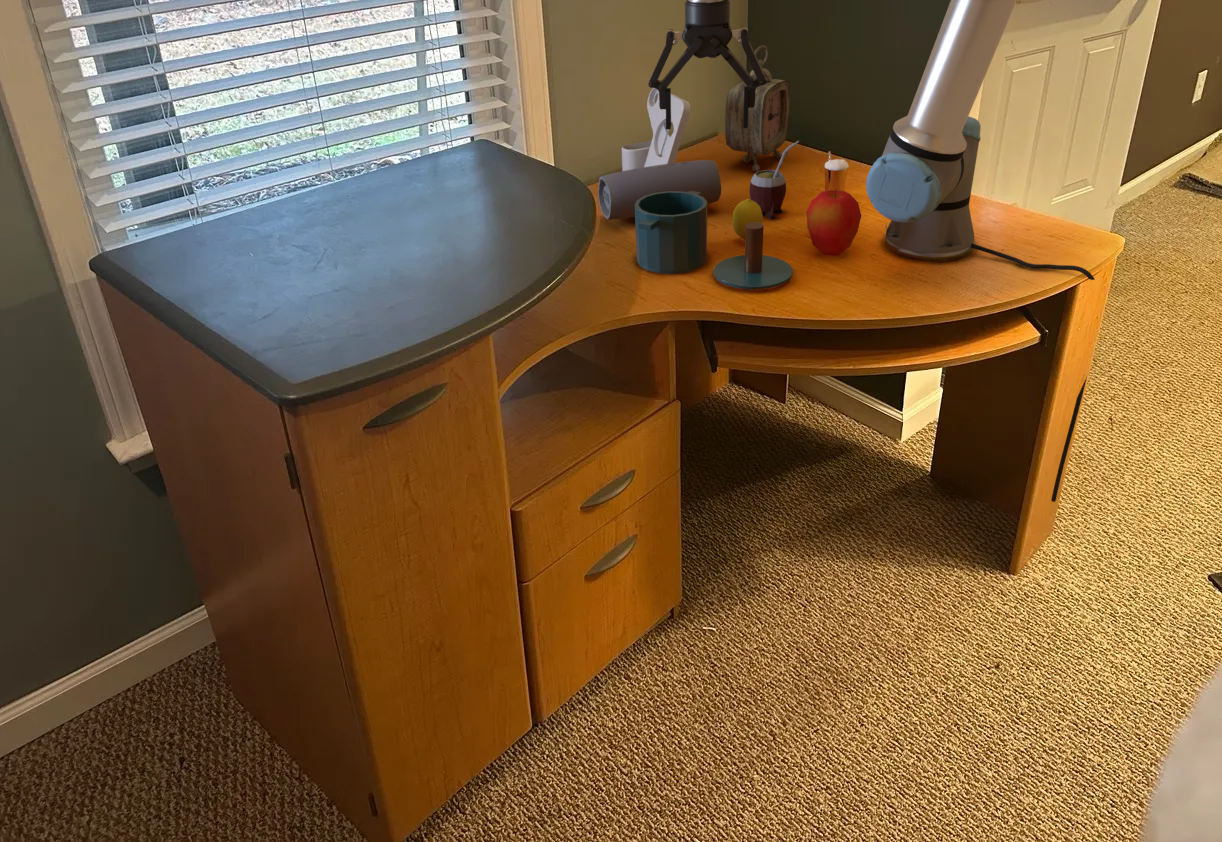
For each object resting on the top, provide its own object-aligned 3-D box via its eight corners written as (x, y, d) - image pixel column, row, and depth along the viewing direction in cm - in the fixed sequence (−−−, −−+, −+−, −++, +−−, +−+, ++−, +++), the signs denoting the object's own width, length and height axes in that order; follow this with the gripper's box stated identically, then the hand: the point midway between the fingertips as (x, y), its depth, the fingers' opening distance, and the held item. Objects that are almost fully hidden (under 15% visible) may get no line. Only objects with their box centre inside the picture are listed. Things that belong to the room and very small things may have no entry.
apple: (793, 252, 176) (797, 187, 170) (829, 239, 180) (834, 175, 174) (832, 268, 170) (837, 201, 163) (868, 254, 174) (874, 188, 168)
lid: (805, 269, 170) (808, 218, 165) (772, 299, 161) (774, 246, 156) (735, 255, 176) (736, 206, 171) (699, 283, 167) (699, 232, 162)
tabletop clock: (759, 176, 212) (763, 55, 199) (722, 170, 216) (723, 51, 203) (787, 156, 222) (793, 40, 209) (751, 151, 226) (754, 37, 213)
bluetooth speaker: (704, 199, 201) (704, 151, 196) (722, 214, 194) (722, 164, 188) (598, 216, 196) (595, 167, 191) (612, 232, 188) (610, 181, 183)
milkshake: (835, 198, 198) (839, 149, 193) (849, 207, 194) (853, 157, 188) (815, 202, 197) (818, 152, 192) (828, 210, 193) (832, 160, 187)
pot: (725, 248, 179) (726, 192, 174) (677, 284, 167) (676, 226, 161) (666, 236, 185) (665, 182, 180) (615, 271, 173) (613, 214, 167)
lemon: (760, 246, 179) (762, 204, 175) (730, 245, 180) (731, 203, 176) (763, 235, 184) (764, 193, 180) (733, 234, 185) (734, 193, 181)
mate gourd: (743, 210, 195) (745, 134, 187) (780, 205, 197) (784, 130, 189) (757, 223, 189) (760, 145, 181) (795, 217, 190) (800, 140, 182)
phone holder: (618, 174, 217) (614, 90, 208) (659, 166, 220) (658, 84, 211) (651, 197, 204) (649, 109, 194) (694, 189, 207) (695, 102, 197)
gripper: (782, -8, 165) (777, 119, 176) (634, -3, 168) (638, 122, 179) (784, 0, 159) (778, 131, 170) (630, 4, 162) (635, 133, 173)
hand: (706, 126), depth 175 cm, fingers open, 13 cm apart
